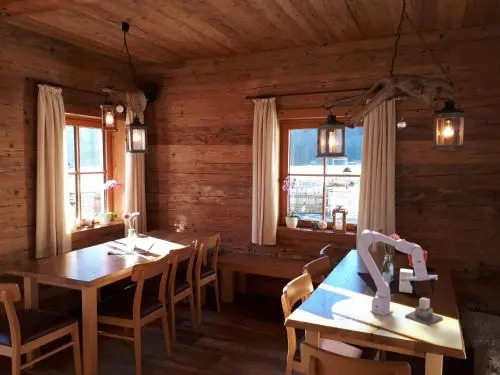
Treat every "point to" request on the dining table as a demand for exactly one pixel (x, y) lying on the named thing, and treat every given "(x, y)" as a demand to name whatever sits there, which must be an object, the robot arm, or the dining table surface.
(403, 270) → the supplement box
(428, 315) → the stand base
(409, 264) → the plant pot
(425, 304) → the column
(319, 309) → the dining table surface
